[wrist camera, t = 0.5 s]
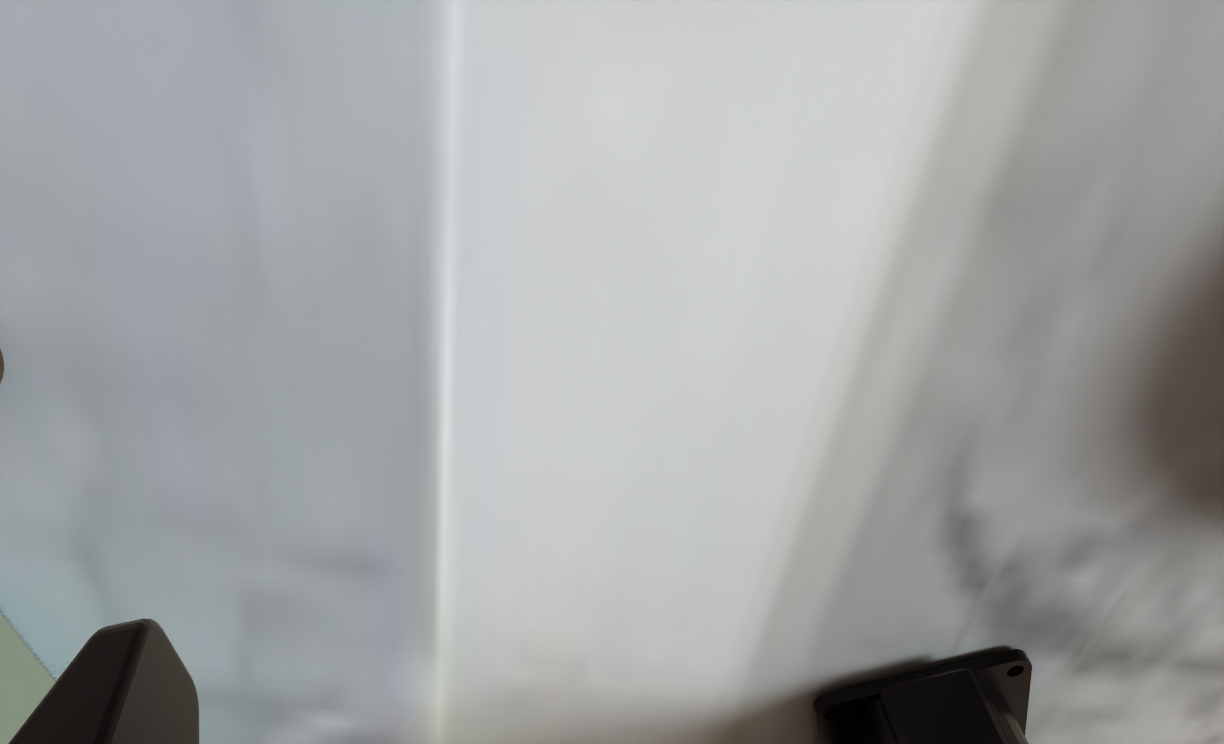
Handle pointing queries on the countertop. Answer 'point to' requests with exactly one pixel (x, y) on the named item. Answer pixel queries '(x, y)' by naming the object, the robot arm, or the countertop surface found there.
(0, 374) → the long pin
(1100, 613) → the countertop surface
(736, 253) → the countertop surface
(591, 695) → the countertop surface
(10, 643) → the hole block
